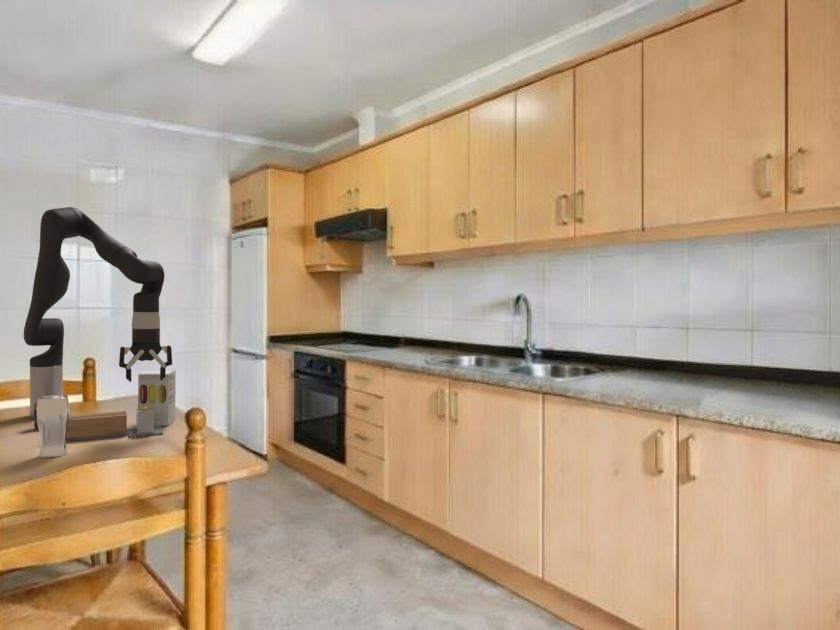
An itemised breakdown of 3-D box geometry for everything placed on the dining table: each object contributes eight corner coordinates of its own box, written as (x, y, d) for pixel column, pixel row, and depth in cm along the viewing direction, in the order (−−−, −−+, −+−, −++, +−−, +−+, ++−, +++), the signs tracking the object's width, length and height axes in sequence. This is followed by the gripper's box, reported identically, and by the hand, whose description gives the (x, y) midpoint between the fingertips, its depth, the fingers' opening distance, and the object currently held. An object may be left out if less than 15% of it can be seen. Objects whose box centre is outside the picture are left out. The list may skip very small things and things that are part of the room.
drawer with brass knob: (137, 434, 159) (137, 411, 159) (136, 428, 166) (136, 406, 166) (154, 432, 161) (154, 409, 161) (152, 426, 168) (152, 405, 168)
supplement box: (136, 426, 170) (136, 373, 170) (145, 420, 179) (145, 369, 179) (169, 425, 172) (169, 373, 172) (176, 419, 181) (176, 369, 181)
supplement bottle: (57, 427, 169) (57, 396, 168) (40, 430, 164) (40, 399, 164) (47, 425, 171) (47, 395, 170) (30, 428, 166) (30, 397, 166)
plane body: (54, 437, 157) (54, 416, 157) (126, 430, 166) (126, 410, 166) (52, 442, 150) (52, 421, 150) (127, 435, 160) (127, 415, 159)
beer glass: (44, 460, 135) (44, 400, 134) (31, 455, 138) (31, 397, 138) (74, 453, 141) (74, 396, 140) (61, 449, 144) (61, 393, 144)
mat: (128, 430, 166) (128, 428, 166) (160, 427, 170) (160, 425, 170) (129, 437, 157) (129, 435, 157) (163, 434, 161) (163, 432, 161)
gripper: (119, 328, 156) (119, 383, 156) (173, 327, 163) (173, 380, 164) (118, 326, 162) (118, 380, 163) (170, 326, 169) (170, 377, 170)
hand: (146, 380), depth 163 cm, fingers open, 8 cm apart
